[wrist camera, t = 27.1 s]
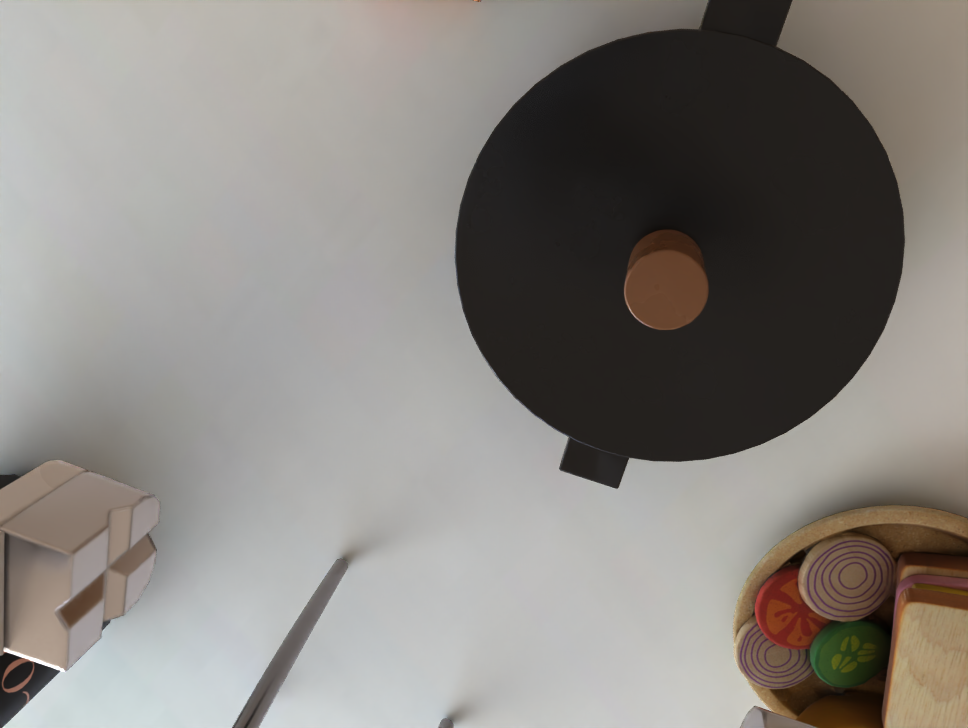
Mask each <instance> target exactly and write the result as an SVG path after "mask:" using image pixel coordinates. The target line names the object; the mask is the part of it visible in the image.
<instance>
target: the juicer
mask: <svg viewBox="0 0 968 728" xmlns="http://www.w3.org/2000/svg"><path fill="white" fill-rule="evenodd" d="M347 568H348V564H347V562H346V561H345V560H344V559H337V560H336V561H335V563H334V564H333V566H332V567H331V569H330V570H329V572H328V573H327V575H326V576H325V577H324V579H323V580H322V582H321V583H320V585H319V586H318V588H317V590H316V591H315V593H314V594H313V596H312V597H311V599H310V600H309V602H308V603H307V605H306V606H305V608H304V609H303V611H302V613H301V614H300V616H299V617H298V619H297V620H296V622H295V624H294V625H293V627H292V628H291V630H290V631H289V633H288V635H287V636H286V638H285V639H284V641H283V643H282V644H281V646H280V647H279V649H278V651H277V652H276V654H275V656H274V657H273V659H272V661H271V662H270V664H269V666H268V667H267V669H266V670H265V672H264V674H263V675H262V677H261V679H260V680H259V682H258V684H257V686H256V687H255V689H254V691H253V692H252V694H251V696H250V697H249V699H248V701H247V703H246V704H245V706H244V708H243V709H242V711H241V713H240V715H239V716H238V718H237V720H236V722H235V723H234V725H233V727H232V728H259V726H260V725H261V723H262V721H263V719H264V717H265V715H266V714H267V712H268V710H269V708H270V706H271V704H272V703H273V701H274V699H275V697H276V695H277V693H278V692H279V690H280V688H281V686H282V684H283V682H284V681H285V679H286V677H287V675H288V673H289V671H290V670H291V668H292V666H293V664H294V662H295V661H296V659H297V657H298V655H299V653H300V652H301V650H302V648H303V646H304V644H305V643H306V641H307V639H308V637H309V635H310V634H311V632H312V630H313V628H314V626H315V625H316V623H317V621H318V619H319V618H320V616H321V614H322V612H323V611H324V609H325V607H326V605H327V603H328V602H329V600H330V598H331V596H332V595H333V593H334V591H335V589H336V588H337V586H338V584H339V583H340V581H341V579H342V577H343V576H344V574H345V572H346V570H347ZM438 728H454V724H453V722H452V721H451V720H450V719H443V720H442V721H441V722H440V724H439V727H438Z"/></svg>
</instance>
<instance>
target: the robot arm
mask: <svg viewBox="0 0 968 728" xmlns="http://www.w3.org/2000/svg"><path fill="white" fill-rule="evenodd" d="M159 520H160V501H159V500H158V499H157V497H156V496H155V495H153V494H151V493H148V492H145V491H143V490H140V489H137V488H135V487H132V486H129V485H127V484H124V483H121V482H119V481H116V480H114V479H111V478H108V477H106V476H103V475H100V474H98V473H95V472H92V471H91V472H90V471H88V470H86V469H83V468H80V467H78V466H75V465H72V464H69V463H67V462H64V461H61V460H52V461H47V462H45V463H43V464H42V465H40V466H39V467H37V468H35V469H34V470H32V471H30V472H29V473H27V474H25V475H24V476H22V477H20V478H19V479H17V480H15V481H14V482H12V483H10V484H9V485H7V486H5V487H4V488H2V489H0V656H1V655H3V653H4V651H6V652H9V653H12V654H15V655H18V656H20V657H23V658H26V659H29V660H32V661H35V662H38V663H41V664H43V665H46V666H49V667H52V668H55V669H58V670H61V671H63V672H66V671H67V670H68V669H69V668H70V667H71V666H72V665H73V664H74V663H75V662H77V661H78V660H79V659H80V658H81V657H82V656H83V655H84V654H85V653H86V652H87V651H88V650H89V649H90V648H91V647H92V646H93V645H94V644H95V643H96V642H97V641H98V640H99V639H100V638H101V635H102V622H105V621H108V620H111V619H114V618H117V617H120V616H124V615H125V614H126V613H127V612H128V611H129V610H130V609H131V608H132V607H133V605H134V604H135V603H136V602H137V601H138V600H139V598H140V597H141V595H142V593H143V592H144V590H145V588H146V587H147V585H148V583H149V582H150V579H151V576H152V572H153V569H154V566H155V560H156V551H157V549H156V547H155V545H154V543H153V541H152V539H151V538H150V536H149V534H148V532H149V531H150V530H152V529H153V528H154V527H155V526H156V525H157V524H158V523H159ZM740 728H818V727H815V726H812V725H809V724H806V723H803V722H801V721H798V720H795V719H792V718H789V717H786V716H783V715H780V714H777V713H774V712H772V711H769V710H766V709H763V708H760V707H757V706H754V707H753V708H752V709H751V710H750V711H749V712H748V713H747V715H746V717H745V719H744V721H743V722H742V724H741V726H740Z"/></svg>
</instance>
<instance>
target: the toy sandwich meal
mask: <svg viewBox="0 0 968 728" xmlns="http://www.w3.org/2000/svg"><path fill="white" fill-rule="evenodd" d="M733 638H734V657H735V662H736V664H737V666H738V668H739V670H740V672H741V673H742V674H743V675H744V677H745V678H746V679H747V681H748V683H749V684H750V686H751V688H752V689H753V690H754V692H755V693H756V694H757V696H758V697H759V698H760V700H761V701H762V702H763V703H764V704H765V705H766V706H767V707H768V708H769V709H770V710H771V711H772V712H774V713H777V714H780V715H783V716H786V717H789V718H792V719H795V720H798V721H801V722H803V723H806V724H809V725H812V726H815V727H818V728H968V518H965V517H962V516H959V515H956V514H953V513H949V512H946V511H942V510H937V509H932V508H925V507H917V506H905V505H886V506H873V507H864V508H858V509H853V510H848V511H844V512H841V513H837V514H834V515H831V516H828V517H825V518H822V519H820V520H817V521H815V522H813V523H810V524H808V525H806V526H804V527H803V528H801V529H799V530H797V531H796V532H794V533H792V534H791V535H789V536H788V537H786V538H785V539H783V540H782V541H781V542H780V543H778V544H777V545H776V546H775V547H773V548H772V549H771V550H770V551H769V552H768V553H767V554H766V555H765V556H764V557H763V558H762V560H761V561H760V562H759V563H758V564H757V565H756V567H755V568H754V570H753V571H752V572H751V574H750V575H749V577H748V579H747V581H746V582H745V584H744V586H743V588H742V591H741V593H740V596H739V598H738V601H737V605H736V608H735V614H734V622H733Z"/></svg>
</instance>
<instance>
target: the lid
mask: <svg viewBox="0 0 968 728" xmlns="http://www.w3.org/2000/svg"><path fill="white" fill-rule="evenodd" d="M904 246H905V235H904V216H903V208H902V203H901V198H900V193H899V188H898V183H897V180H896V177H895V174H894V172H893V169H892V166H891V164H890V161H889V158H888V155H887V153H886V151H885V149H884V147H883V145H882V144H881V142H880V140H879V138H878V136H877V135H876V133H875V131H874V129H873V127H872V126H871V124H870V123H869V122H868V120H867V119H866V118H865V116H864V115H863V114H862V112H861V111H860V110H859V109H858V107H857V106H856V105H855V103H854V102H853V101H852V100H851V99H850V98H849V97H848V96H847V95H846V94H845V93H844V92H843V91H842V90H841V89H840V88H839V87H838V86H837V85H836V84H835V83H834V82H832V81H831V80H830V79H829V78H828V77H826V76H825V75H824V74H822V73H821V72H819V71H818V70H816V69H815V68H814V67H812V66H811V65H809V64H808V63H807V62H805V61H804V60H802V59H800V58H798V57H796V56H794V55H792V54H790V53H788V52H786V51H784V50H782V49H780V48H778V47H776V46H773V45H770V44H767V43H764V42H761V41H758V40H755V39H752V38H749V37H746V36H742V35H737V34H731V33H726V32H720V31H715V30H696V29H675V30H664V31H654V32H647V33H643V34H638V35H634V36H630V37H626V38H622V39H617V40H615V41H612V42H610V43H607V44H604V45H602V46H599V47H597V48H594V49H591V50H589V51H587V52H585V53H583V54H581V55H579V56H578V57H576V58H574V59H572V60H570V61H568V62H567V63H565V64H563V65H561V66H560V67H558V68H557V69H555V70H554V71H553V72H551V73H550V74H549V75H547V76H546V77H545V78H543V79H542V80H540V81H539V82H538V83H536V84H535V85H534V86H533V87H532V88H531V89H530V90H529V91H528V92H527V93H526V94H525V95H524V96H522V97H521V98H520V99H519V100H518V101H517V102H516V103H515V104H514V105H513V106H512V108H511V109H510V110H509V111H508V113H507V114H506V115H505V116H504V118H503V119H502V120H501V121H500V122H499V124H498V125H497V126H496V127H495V129H494V131H493V132H492V134H491V135H490V137H489V139H488V140H487V142H486V144H485V145H484V147H483V148H482V150H481V152H480V154H479V156H478V158H477V160H476V163H475V165H474V167H473V169H472V171H471V174H470V176H469V178H468V181H467V185H466V188H465V191H464V194H463V198H462V201H461V204H460V210H459V216H458V222H457V228H456V242H455V265H456V276H457V286H458V290H459V295H460V299H461V303H462V308H463V312H464V314H465V317H466V320H467V323H468V325H469V328H470V331H471V334H472V336H473V338H474V340H475V342H476V344H477V346H478V348H479V350H480V352H481V354H482V356H483V357H484V359H485V360H486V362H487V363H488V365H489V366H490V368H491V369H492V371H493V372H494V374H495V375H496V377H497V378H498V379H499V380H500V382H501V383H502V384H503V385H504V386H505V387H506V388H507V389H508V391H509V392H510V393H511V394H512V395H513V396H514V397H515V398H516V399H517V400H518V401H519V402H520V403H521V404H522V405H523V406H525V407H526V408H527V409H528V410H529V411H530V412H531V413H532V414H534V415H535V416H536V417H538V418H539V419H541V420H542V421H544V422H545V423H546V424H548V425H549V426H551V427H552V428H554V429H555V430H557V431H559V432H561V433H563V434H565V435H566V436H568V437H570V438H572V439H574V440H576V441H578V442H580V443H583V444H586V445H588V446H591V447H593V448H596V449H598V450H601V451H604V452H608V453H612V454H616V455H620V456H624V457H628V458H635V459H642V460H649V461H673V462H682V461H693V460H704V459H710V458H715V457H720V456H725V455H729V454H734V453H737V452H740V451H743V450H746V449H749V448H752V447H755V446H758V445H761V444H763V443H765V442H767V441H769V440H771V439H773V438H776V437H778V436H780V435H782V434H784V433H786V432H788V431H789V430H791V429H792V428H794V427H796V426H797V425H799V424H800V423H802V422H804V421H805V420H807V419H808V418H810V417H811V416H812V415H814V414H815V413H816V412H817V411H819V410H820V409H821V408H822V407H823V406H825V405H826V404H827V403H828V402H830V401H831V400H832V399H833V398H834V397H835V396H836V395H837V394H838V393H839V392H840V391H841V390H842V389H843V388H844V387H845V386H846V385H847V384H848V382H849V381H850V380H851V379H852V378H853V377H854V376H855V374H856V373H857V372H858V370H859V369H860V367H861V366H862V365H863V363H864V362H865V361H866V359H867V358H868V357H869V355H870V354H871V352H872V350H873V348H874V347H875V345H876V343H877V341H878V339H879V338H880V336H881V334H882V332H883V330H884V328H885V326H886V323H887V321H888V318H889V316H890V313H891V310H892V308H893V305H894V303H895V300H896V295H897V291H898V287H899V283H900V279H901V275H902V268H903V257H904Z"/></svg>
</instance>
